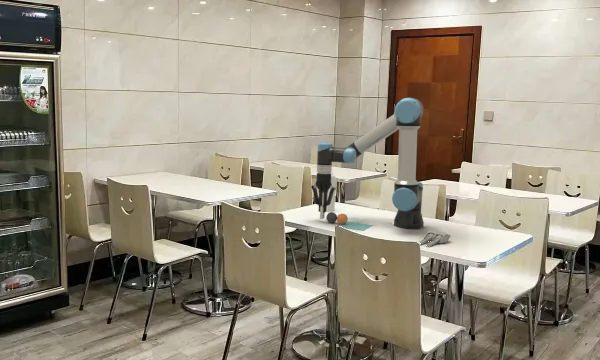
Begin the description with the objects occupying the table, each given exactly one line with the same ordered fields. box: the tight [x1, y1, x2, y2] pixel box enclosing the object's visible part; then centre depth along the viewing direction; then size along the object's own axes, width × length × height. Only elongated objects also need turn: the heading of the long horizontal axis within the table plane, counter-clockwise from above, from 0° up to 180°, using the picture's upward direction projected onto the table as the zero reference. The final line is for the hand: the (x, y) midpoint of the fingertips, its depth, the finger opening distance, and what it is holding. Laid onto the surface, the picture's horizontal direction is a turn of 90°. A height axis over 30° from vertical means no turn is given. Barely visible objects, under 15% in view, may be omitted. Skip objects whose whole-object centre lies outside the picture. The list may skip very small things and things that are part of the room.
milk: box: [322, 172, 337, 213], centre depth 332 cm, size 6×6×22 cm
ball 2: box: [336, 213, 349, 225], centre depth 299 cm, size 6×6×6 cm
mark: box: [339, 221, 373, 231], centre depth 296 cm, size 14×14×1 cm
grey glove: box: [419, 229, 451, 248], centre depth 269 cm, size 10×20×5 cm, turn 139°
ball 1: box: [326, 211, 338, 224], centre depth 301 cm, size 6×6×6 cm
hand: (322, 218), depth 303 cm, fingers closed
